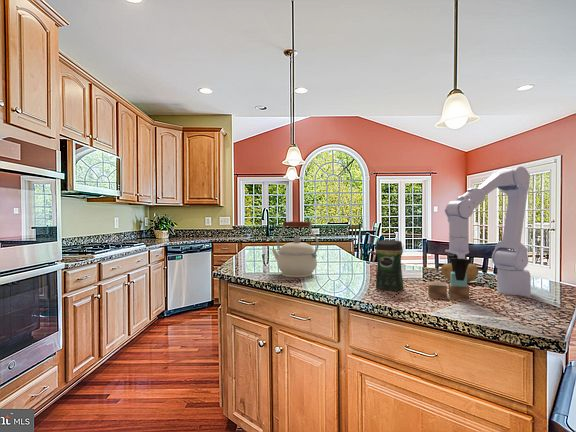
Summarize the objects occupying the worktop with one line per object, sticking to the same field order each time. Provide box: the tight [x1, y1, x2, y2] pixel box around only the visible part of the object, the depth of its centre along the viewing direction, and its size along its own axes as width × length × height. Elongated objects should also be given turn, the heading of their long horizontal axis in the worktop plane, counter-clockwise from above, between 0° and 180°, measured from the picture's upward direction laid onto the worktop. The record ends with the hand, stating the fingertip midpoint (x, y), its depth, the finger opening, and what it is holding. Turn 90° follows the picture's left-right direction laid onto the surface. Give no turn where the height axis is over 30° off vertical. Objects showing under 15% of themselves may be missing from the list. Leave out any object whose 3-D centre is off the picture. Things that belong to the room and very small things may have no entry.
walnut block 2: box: [448, 283, 470, 301], centre depth 114 cm, size 6×6×4 cm
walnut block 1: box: [427, 281, 448, 299], centre depth 116 cm, size 6×6×4 cm
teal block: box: [449, 272, 468, 287], centre depth 114 cm, size 4×4×4 cm
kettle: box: [271, 220, 320, 279], centre depth 161 cm, size 25×18×25 cm
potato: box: [440, 262, 479, 283], centre depth 143 cm, size 10×14×8 cm
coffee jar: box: [375, 239, 404, 292], centre depth 128 cm, size 10×8×19 cm
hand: (458, 278), depth 114 cm, fingers open, 7 cm apart
